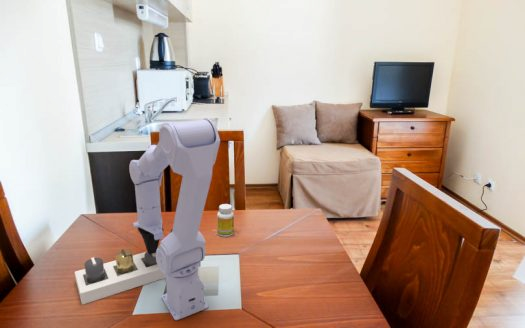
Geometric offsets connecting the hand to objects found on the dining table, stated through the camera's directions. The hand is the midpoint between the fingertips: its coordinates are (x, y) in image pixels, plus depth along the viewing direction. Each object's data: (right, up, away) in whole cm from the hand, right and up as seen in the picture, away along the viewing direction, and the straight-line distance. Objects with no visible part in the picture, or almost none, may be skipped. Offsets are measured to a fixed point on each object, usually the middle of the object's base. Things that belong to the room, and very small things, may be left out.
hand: (152, 252), depth 92 cm
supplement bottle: (+17, 0, +22) cm, 28 cm away
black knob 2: (0, -5, +1) cm, 5 cm away
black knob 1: (-12, -5, -7) cm, 14 cm away
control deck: (-6, -6, -2) cm, 9 cm away
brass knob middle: (-6, -4, -3) cm, 8 cm away
